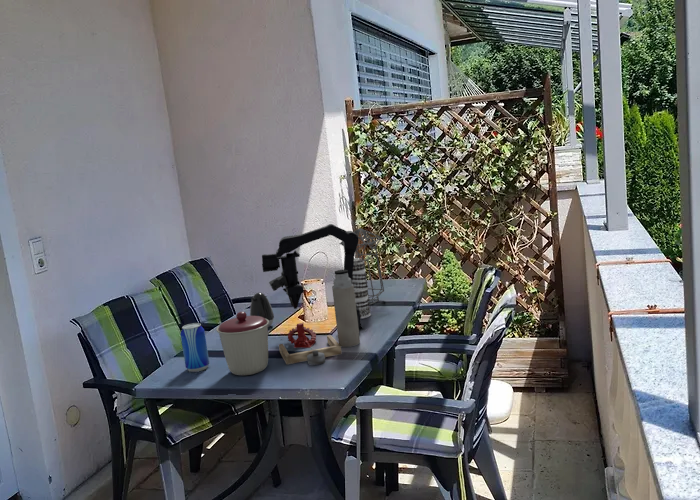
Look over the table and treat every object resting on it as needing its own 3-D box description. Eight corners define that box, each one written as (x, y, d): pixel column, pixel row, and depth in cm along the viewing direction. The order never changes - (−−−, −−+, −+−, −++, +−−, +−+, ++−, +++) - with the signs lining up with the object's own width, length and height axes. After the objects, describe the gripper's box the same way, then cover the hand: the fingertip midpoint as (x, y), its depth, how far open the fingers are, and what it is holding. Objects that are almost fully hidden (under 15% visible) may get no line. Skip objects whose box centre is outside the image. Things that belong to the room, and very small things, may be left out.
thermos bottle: (343, 340, 250) (334, 268, 245) (362, 340, 247) (354, 267, 242) (335, 346, 242) (327, 273, 238) (356, 346, 239) (347, 272, 235)
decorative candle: (346, 319, 278) (340, 261, 274) (354, 313, 287) (348, 257, 283) (366, 319, 275) (360, 261, 271) (374, 312, 283) (368, 256, 279)
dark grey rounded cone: (246, 330, 278) (241, 295, 276) (260, 323, 287) (255, 289, 285) (265, 331, 274) (261, 296, 271) (279, 324, 283) (275, 289, 280)
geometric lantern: (390, 298, 305) (382, 225, 298) (373, 308, 292) (365, 232, 286) (361, 297, 314) (353, 225, 307) (344, 306, 301) (335, 232, 294)
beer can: (188, 366, 239) (181, 324, 237) (211, 363, 240) (204, 321, 237) (184, 374, 231) (177, 330, 228) (208, 370, 231) (201, 327, 229)
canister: (252, 382, 215) (243, 321, 211) (212, 377, 224) (202, 318, 221) (285, 363, 230) (277, 305, 226) (246, 359, 239) (238, 303, 236)
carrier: (331, 342, 248) (330, 332, 248) (346, 359, 227) (345, 348, 227) (279, 352, 243) (278, 341, 243) (289, 370, 222) (288, 359, 222)
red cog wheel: (297, 351, 243) (294, 329, 241) (284, 344, 253) (282, 323, 252) (323, 344, 247) (320, 323, 246) (310, 337, 258) (307, 317, 257)
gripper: (265, 268, 264) (270, 305, 266) (272, 276, 246) (277, 316, 248) (293, 264, 266) (297, 301, 269) (301, 271, 248) (306, 311, 251)
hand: (294, 307), depth 259 cm, fingers open, 5 cm apart
